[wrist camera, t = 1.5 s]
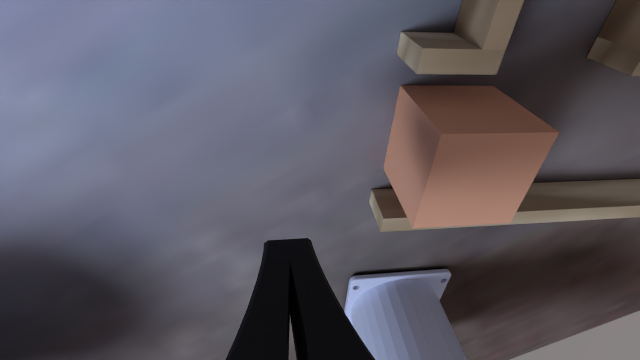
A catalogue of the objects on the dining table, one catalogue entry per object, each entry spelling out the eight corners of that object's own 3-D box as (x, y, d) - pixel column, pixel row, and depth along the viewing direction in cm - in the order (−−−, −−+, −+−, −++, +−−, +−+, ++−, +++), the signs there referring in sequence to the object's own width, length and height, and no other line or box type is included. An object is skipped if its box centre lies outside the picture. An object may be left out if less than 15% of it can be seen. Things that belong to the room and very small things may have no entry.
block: (462, 165, 20) (510, 223, 16) (383, 167, 20) (412, 228, 16) (492, 85, 17) (559, 132, 13) (399, 84, 17) (441, 134, 13)
